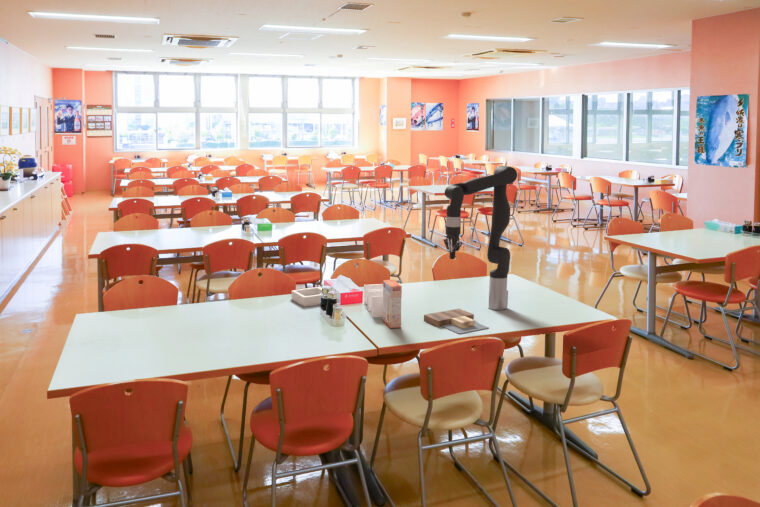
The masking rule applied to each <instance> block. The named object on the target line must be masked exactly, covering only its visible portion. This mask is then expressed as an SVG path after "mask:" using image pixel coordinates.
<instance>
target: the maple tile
mask: <svg viewBox="0 0 760 507" xmlns="http://www.w3.org/2000/svg"><path fill="white" fill-rule="evenodd" d="M475 322H476V320H475V319H474V320H473V319H471V318H468V317H466V316H461V317H456V318H451V324H452V325H454V326H457V327H459V328H461V329H462V328H467V327H472V326H475Z"/></svg>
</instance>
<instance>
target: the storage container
mask: <svg viewBox="0 0 760 507" xmlns="http://www.w3.org/2000/svg"><path fill="white" fill-rule="evenodd" d="M363 305H366V309H367V310H368V312H371V318H383V283H377V284H376V283H375V284H371V283H370V284H363Z"/></svg>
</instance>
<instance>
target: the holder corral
mask: <svg viewBox="0 0 760 507" xmlns="http://www.w3.org/2000/svg"><path fill="white" fill-rule="evenodd" d="M322 289H323V288H322V287H320V286H317V287H316V286H315V287H314V286H313V287H308V288H307V287H306V288H301V289H293V290H291V300H292V301H294V302H296V303H298V304H299V305H301V306H302V307H308V306H309V307H311V306H317V305H318V306H319V305H321V304H320V297H321V294H320V293H321V291H322Z"/></svg>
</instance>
